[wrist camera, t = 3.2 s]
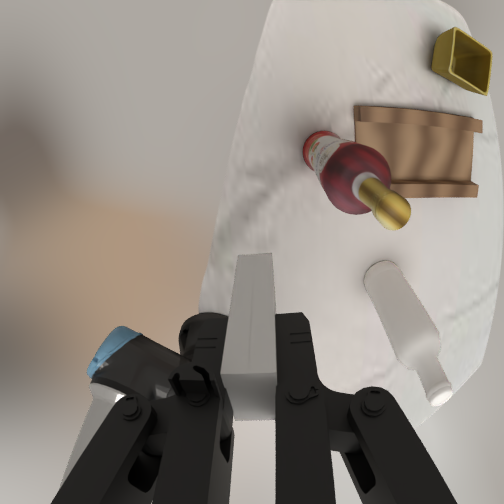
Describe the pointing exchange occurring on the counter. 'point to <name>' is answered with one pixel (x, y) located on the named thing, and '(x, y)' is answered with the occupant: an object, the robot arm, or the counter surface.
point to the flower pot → (463, 61)
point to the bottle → (408, 328)
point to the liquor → (356, 178)
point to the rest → (421, 149)
